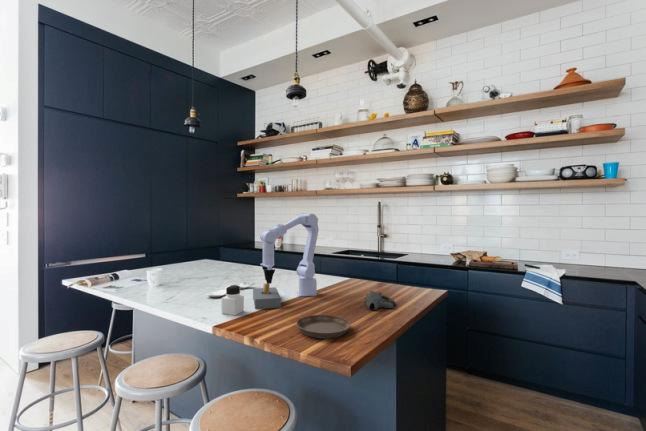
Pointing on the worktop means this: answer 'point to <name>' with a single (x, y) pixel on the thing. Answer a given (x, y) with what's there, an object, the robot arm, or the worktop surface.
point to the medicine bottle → (232, 301)
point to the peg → (265, 288)
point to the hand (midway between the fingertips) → (268, 281)
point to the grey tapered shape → (378, 301)
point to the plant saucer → (323, 326)
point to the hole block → (266, 298)
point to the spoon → (223, 292)
